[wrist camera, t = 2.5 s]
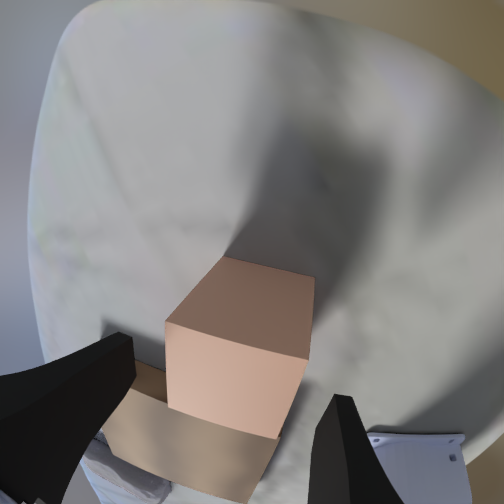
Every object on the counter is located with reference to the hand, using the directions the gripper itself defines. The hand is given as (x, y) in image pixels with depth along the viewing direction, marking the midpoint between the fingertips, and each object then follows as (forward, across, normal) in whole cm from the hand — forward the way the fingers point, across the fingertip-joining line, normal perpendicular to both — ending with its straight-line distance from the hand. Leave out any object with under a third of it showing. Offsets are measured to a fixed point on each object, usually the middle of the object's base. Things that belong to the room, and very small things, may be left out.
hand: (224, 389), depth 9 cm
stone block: (+6, +12, +31) cm, 34 cm away
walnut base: (+6, +4, +14) cm, 16 cm away
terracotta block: (+6, 0, 0) cm, 6 cm away
